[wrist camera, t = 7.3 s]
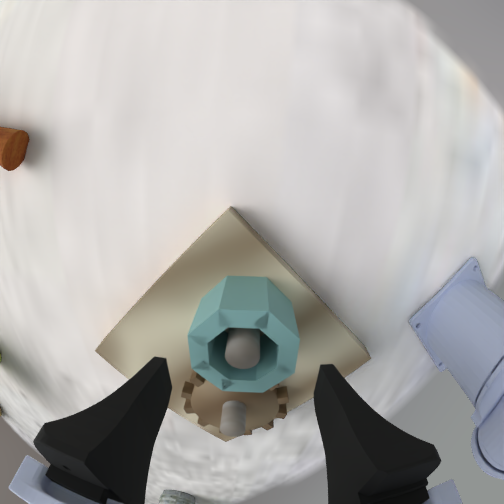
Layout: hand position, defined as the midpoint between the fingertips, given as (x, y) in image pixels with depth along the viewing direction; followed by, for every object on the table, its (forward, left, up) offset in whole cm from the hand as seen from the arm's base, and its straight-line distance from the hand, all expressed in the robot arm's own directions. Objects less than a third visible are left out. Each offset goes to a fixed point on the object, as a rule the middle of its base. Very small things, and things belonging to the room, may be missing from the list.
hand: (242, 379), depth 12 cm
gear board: (-2, +4, -7) cm, 8 cm away
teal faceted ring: (0, 0, -6) cm, 6 cm away
